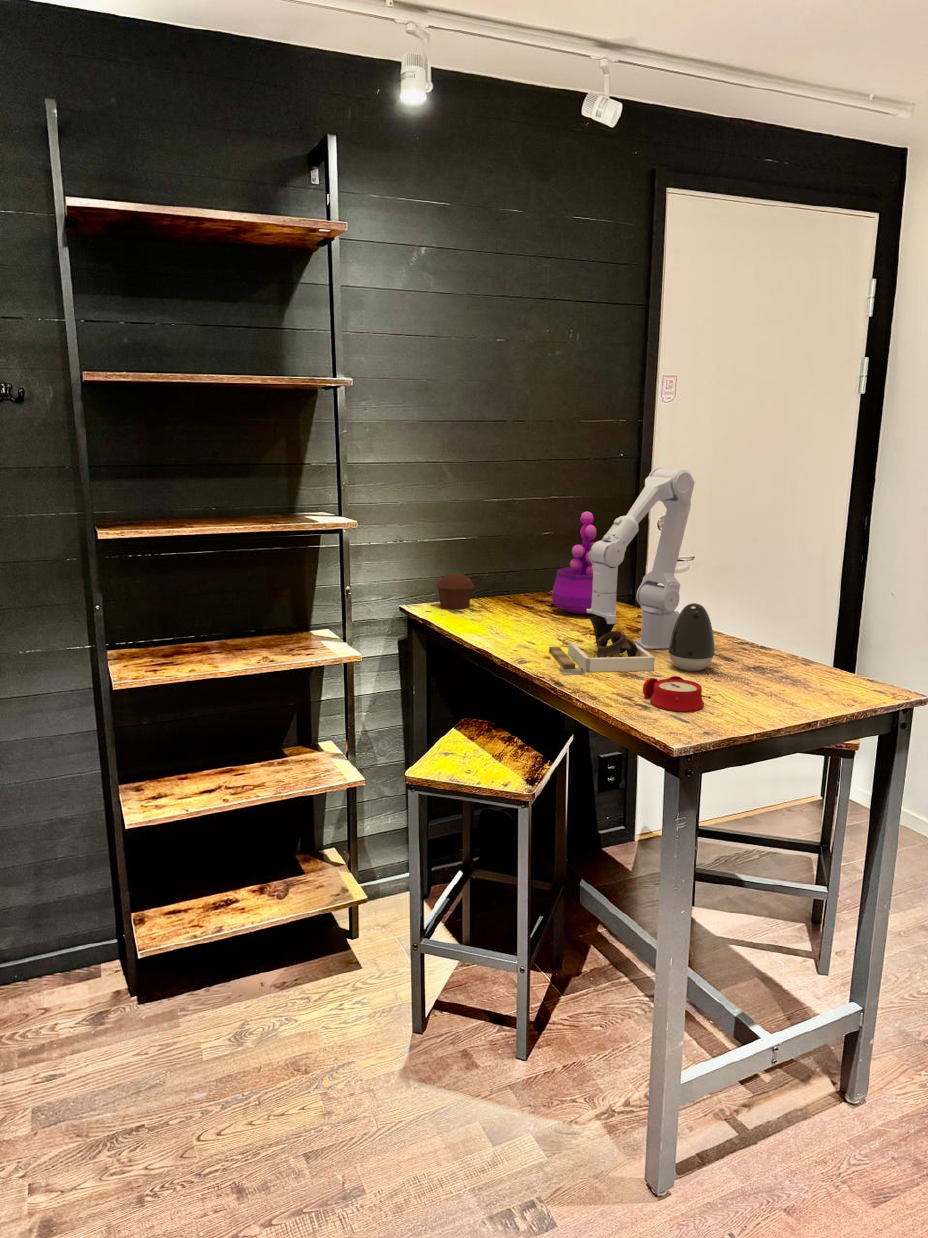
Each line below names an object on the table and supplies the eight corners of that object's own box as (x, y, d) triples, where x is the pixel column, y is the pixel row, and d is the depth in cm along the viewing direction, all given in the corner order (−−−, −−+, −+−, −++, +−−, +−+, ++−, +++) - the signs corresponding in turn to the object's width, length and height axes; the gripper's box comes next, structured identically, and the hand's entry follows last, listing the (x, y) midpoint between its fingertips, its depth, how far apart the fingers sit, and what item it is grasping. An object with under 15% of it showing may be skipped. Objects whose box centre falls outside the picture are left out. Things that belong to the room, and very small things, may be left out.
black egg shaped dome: (669, 673, 191) (674, 607, 188) (665, 661, 201) (669, 598, 198) (716, 675, 190) (721, 609, 186) (709, 663, 200) (714, 599, 197)
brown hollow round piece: (643, 669, 196) (629, 640, 193) (605, 683, 199) (591, 655, 196) (641, 644, 206) (627, 616, 203) (604, 657, 209) (591, 630, 206)
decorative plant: (549, 605, 263) (553, 507, 256) (610, 606, 262) (615, 508, 256) (553, 618, 245) (557, 514, 238) (618, 620, 244) (624, 515, 237)
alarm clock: (671, 698, 162) (635, 662, 175) (665, 726, 165) (630, 688, 177) (719, 694, 165) (679, 658, 178) (712, 722, 168) (674, 684, 181)
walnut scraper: (543, 652, 209) (544, 647, 208) (563, 652, 209) (564, 646, 209) (563, 676, 189) (563, 669, 189) (585, 675, 190) (585, 669, 189)
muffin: (428, 607, 259) (428, 574, 256) (450, 601, 267) (451, 570, 265) (459, 612, 252) (459, 579, 249) (481, 606, 260) (482, 574, 258)
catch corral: (631, 652, 209) (632, 640, 208) (653, 670, 193) (654, 657, 193) (568, 653, 207) (568, 641, 206) (585, 672, 191) (585, 659, 191)
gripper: (580, 586, 210) (577, 639, 213) (596, 597, 196) (593, 654, 199) (608, 585, 211) (605, 639, 214) (626, 597, 197) (622, 654, 200)
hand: (601, 646), depth 206 cm, fingers closed
